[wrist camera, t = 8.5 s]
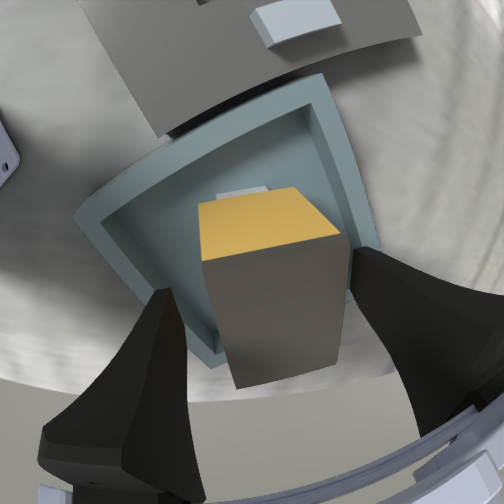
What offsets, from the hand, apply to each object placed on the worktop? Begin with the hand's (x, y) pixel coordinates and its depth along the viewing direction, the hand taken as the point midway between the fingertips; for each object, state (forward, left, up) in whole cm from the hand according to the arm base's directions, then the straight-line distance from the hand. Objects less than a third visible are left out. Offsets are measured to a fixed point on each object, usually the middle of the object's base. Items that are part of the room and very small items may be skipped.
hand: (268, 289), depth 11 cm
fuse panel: (+6, +14, -5) cm, 17 cm away
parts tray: (0, 0, -5) cm, 5 cm away
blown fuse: (0, 0, -5) cm, 5 cm away
